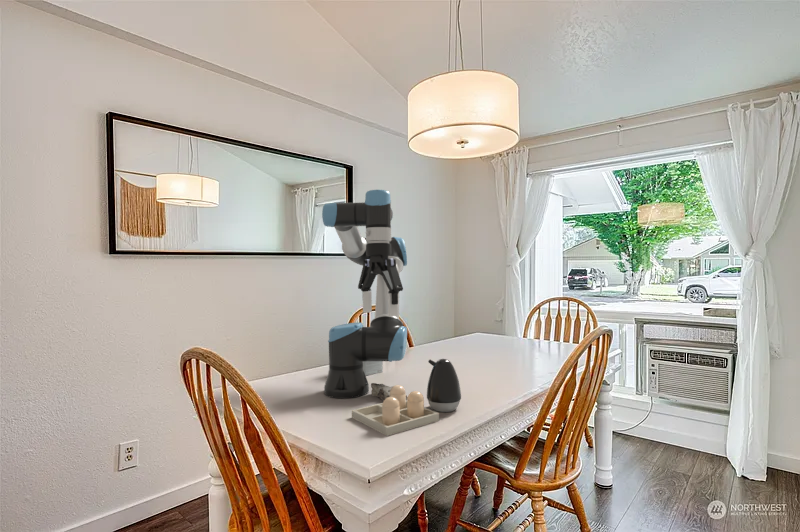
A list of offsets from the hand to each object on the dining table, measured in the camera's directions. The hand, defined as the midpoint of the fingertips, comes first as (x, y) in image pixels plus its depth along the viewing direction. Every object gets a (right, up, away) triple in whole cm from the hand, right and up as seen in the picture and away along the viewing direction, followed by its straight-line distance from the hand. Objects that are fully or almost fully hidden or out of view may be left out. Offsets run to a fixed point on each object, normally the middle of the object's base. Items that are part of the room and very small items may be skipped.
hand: (379, 314), depth 132 cm
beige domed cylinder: (+5, -28, -3) cm, 29 cm away
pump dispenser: (+19, -29, 0) cm, 34 cm away
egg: (+4, -28, -14) cm, 32 cm away
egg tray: (+5, -29, -9) cm, 30 cm away
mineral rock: (+3, -29, +12) cm, 32 cm away
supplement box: (-7, -29, +49) cm, 57 cm away
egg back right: (+10, -28, -9) cm, 31 cm away
